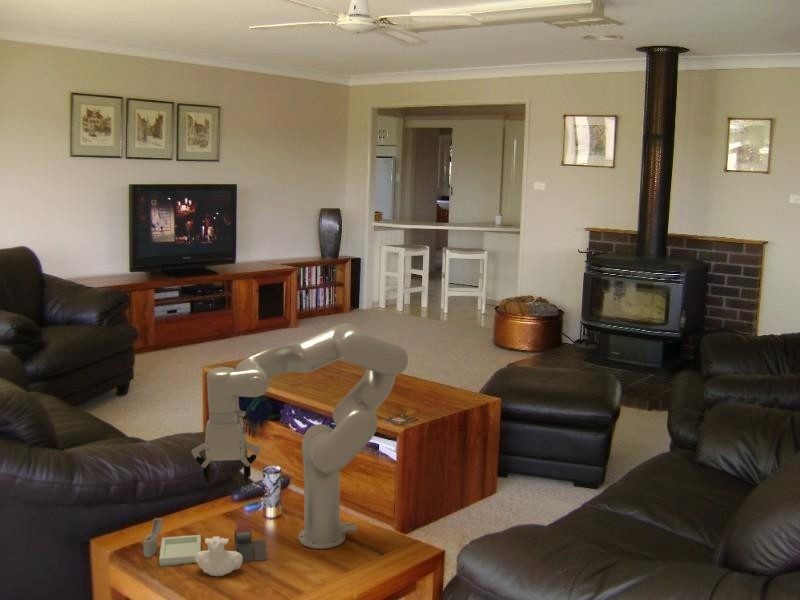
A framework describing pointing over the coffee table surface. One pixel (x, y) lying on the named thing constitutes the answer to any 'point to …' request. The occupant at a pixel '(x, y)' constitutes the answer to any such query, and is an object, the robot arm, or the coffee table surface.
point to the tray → (179, 550)
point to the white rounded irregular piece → (218, 558)
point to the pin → (243, 532)
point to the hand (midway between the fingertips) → (227, 479)
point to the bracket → (251, 549)
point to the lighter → (152, 539)
